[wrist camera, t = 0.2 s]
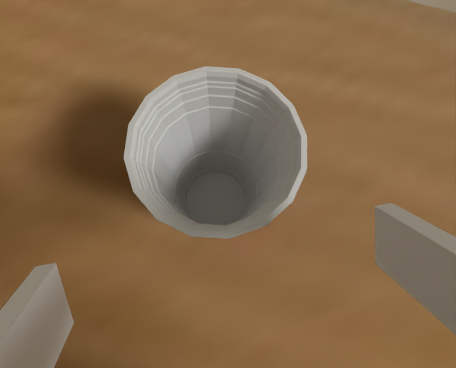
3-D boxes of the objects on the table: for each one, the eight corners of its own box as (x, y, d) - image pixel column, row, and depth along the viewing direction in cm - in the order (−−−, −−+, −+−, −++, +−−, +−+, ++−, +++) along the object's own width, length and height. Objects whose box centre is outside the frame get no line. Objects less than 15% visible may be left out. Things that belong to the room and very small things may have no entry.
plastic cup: (136, 245, 30) (91, 206, 19) (175, 136, 34) (156, 48, 22) (260, 279, 29) (290, 259, 18) (285, 164, 33) (323, 89, 22)
